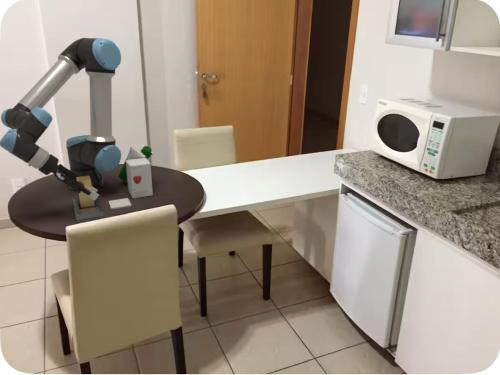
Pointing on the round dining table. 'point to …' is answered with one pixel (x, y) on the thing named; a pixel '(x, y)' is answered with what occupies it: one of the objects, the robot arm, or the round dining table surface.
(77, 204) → the grey metal slotted plate
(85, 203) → the gold metal column
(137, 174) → the supplement box
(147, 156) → the milk carton
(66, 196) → the round dining table surface
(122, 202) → the mat
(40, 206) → the round dining table surface
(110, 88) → the robot arm
